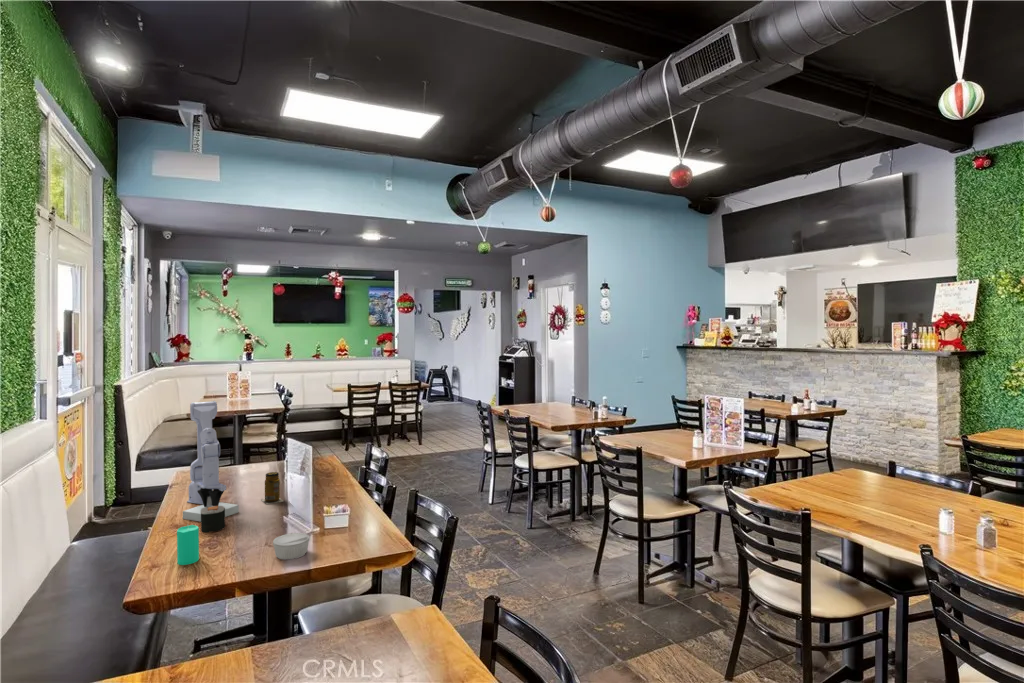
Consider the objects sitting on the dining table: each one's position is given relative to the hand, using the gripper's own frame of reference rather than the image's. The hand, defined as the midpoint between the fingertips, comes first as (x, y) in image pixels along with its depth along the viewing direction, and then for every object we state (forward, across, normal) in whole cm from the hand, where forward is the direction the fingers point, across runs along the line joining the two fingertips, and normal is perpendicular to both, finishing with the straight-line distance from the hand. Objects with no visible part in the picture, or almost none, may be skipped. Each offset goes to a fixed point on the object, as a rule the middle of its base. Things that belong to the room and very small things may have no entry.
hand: (211, 506), depth 221 cm
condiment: (+4, +8, +24) cm, 26 cm away
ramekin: (+4, +60, -20) cm, 63 cm away
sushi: (+4, +14, -11) cm, 18 cm away
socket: (+3, 0, 0) cm, 3 cm away
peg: (+2, 0, 0) cm, 3 cm away
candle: (+4, +33, -36) cm, 49 cm away
